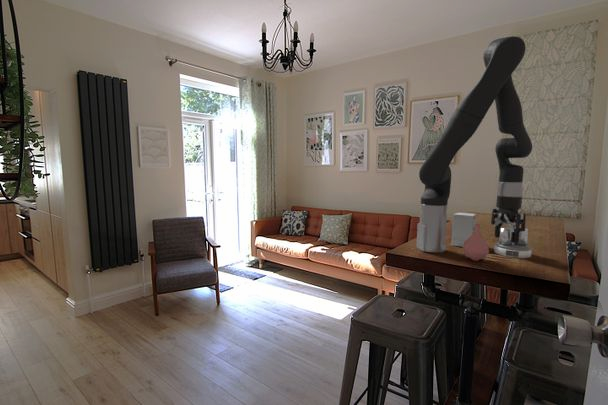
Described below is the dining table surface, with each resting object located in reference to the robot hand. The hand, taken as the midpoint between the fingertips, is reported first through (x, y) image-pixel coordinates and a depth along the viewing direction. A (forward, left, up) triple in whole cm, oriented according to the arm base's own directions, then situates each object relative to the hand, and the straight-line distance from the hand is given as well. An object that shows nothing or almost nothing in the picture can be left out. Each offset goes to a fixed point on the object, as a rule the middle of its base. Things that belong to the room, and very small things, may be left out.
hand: (505, 239), depth 113 cm
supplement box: (-8, +13, -5) cm, 16 cm away
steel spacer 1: (0, 0, -2) cm, 2 cm away
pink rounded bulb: (-15, -7, -5) cm, 18 cm away
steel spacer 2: (+5, 0, -2) cm, 6 cm away
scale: (+3, 0, -5) cm, 6 cm away
